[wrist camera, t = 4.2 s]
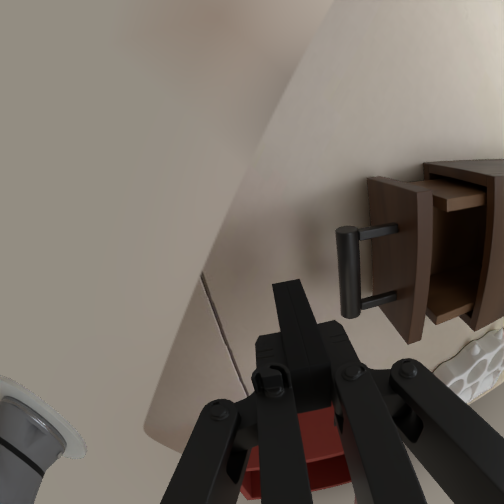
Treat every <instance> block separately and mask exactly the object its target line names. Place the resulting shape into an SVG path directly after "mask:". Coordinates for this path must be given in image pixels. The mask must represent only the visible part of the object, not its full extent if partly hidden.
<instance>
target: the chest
mask: <svg viewBox="0 0 504 504" xmlns="http://www.w3.org/2000/svg"><path fill="white" fill-rule="evenodd" d="M297 415H298V420H299V425H300V431H301V437H302V442H303V448H304V453H305V459H306V465H307V471H308V476H309V482H310V488H311V492H312V491H317V490H322V489H326V488H330V487H334V486H338V485H342V484H346V483H349V482H352V480H351V477H350V473H349V469H348V465H347V461H346V458H345V454H344V450H343V447H342V443H341V440H340V436H339V432H338V429H337V426H335V427H334V407H333V404H332V407H328V408H323V409H319V410H314V411H310V412H305V413H299V414H297ZM240 492H241V493H242V494H243V495H244V496H245V498H246V499H247V500H254V499H261V487H260V468H259V449H258V446H255V447H253V448H252V450H251V454H250V457H249V461H248V465H247V468H246V472H245V475H244V479H243V482H242V486H241V489H240Z"/></svg>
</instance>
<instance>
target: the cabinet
mask: <svg viewBox="0 0 504 504" xmlns="http://www.w3.org/2000/svg"><path fill="white" fill-rule="evenodd" d="M423 167H424V180H433V179H442V178H455V179H459V180H464V181H468V182H471V183H475V184H479V185H483V186H486V187H487V217H486V232H485V243H484V253H483V260H482V268H481V274H480V280H479V286H478V291H477V296H476V301H475V305H474V309H473V310H471V311H469V312H466V313H464V314H462V315H460V316H459V317H460V318H461V319H462V320H463V321H464V322H465V323H466V324H467V325H468V326H469V327H470V328H471V329H472V330H473V331H474V332H475V331H477V330H479V329H481V328H483V327H485V326H486V325H488V324H490V323H492V322H494V321H496V320H497V319H499V318H501V317H503V316H504V159H485V160H458V161H440V162H426V163H423Z"/></svg>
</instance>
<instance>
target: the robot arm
mask: <svg viewBox="0 0 504 504" xmlns="http://www.w3.org/2000/svg"><path fill="white" fill-rule="evenodd" d="M272 287H273V293H274V298H275V304H276V309H277V315H278V320H279V326H280V331H281V332H278V333H273V334H267V335H261V336H259V337H258V339H257V341H256V343H255V348H256V367H257V368H256V370H255V371H254V372H253V373H252V377H251V380H252V383H253V386H254V390H255V391H254V392H253V393H252V394H251V395H250V396H249V397H247V398H245V399H243V400H241V401H238V402H235V403H233V402H232V401H230V400H226V399H217V400H214V401H211V402H210V403H208V404H207V405H205V407H204V408H203V409H202V411H201V413H200V416H199V418H198V420H197V423H196V425H195V427H194V429H193V432H192V434H191V436H190V438H189V441H188V443H187V445H186V447H185V450H184V452H183V454H182V456H181V459H180V461H179V463H178V465H177V468H176V470H175V472H174V474H173V476H172V478H171V481H170V483H169V485H168V487H167V490H166V492H165V494H164V496H163V498H162V500H161V503H160V504H236V502H237V499H238V495H239V492H240V489H241V486H242V482H243V479H244V475H245V472H246V468H247V465H248V461H249V457H250V454H251V450H252V448H253V447H255V446H258V449H259V468H260V487H261V504H313V501H312V494H311V488H310V482H309V476H308V471H307V465H306V459H305V453H304V448H303V442H302V437H301V431H300V425H299V420H298V415H297V414H299V413H305V412H310V411H314V410H319V409H323V408H328V407H332V404H333V407H334V427H335V426H337V429H338V432H339V436H340V440H341V443H342V447H343V450H344V454H345V458H346V461H347V465H348V469H349V473H350V477H351V480H352V484H353V488H354V492H355V496H356V500H357V504H427V502H426V499H425V496H424V494H423V491H422V488H421V486H420V483H419V481H418V478H417V476H416V473H415V471H414V468H413V466H412V463H411V461H410V458H409V456H408V454H407V451H406V449H405V446H404V444H403V442H404V443H405V445H406V446H407V447H408V448H409V449H410V451H411V452H412V453H413V454H414V455H415V457H416V458H417V459H418V460H419V461H420V463H421V464H422V465H423V466H424V468H425V469H426V470H427V471H428V472H429V473H430V475H431V476H432V477H433V478H434V480H435V481H436V482H437V483H438V484H439V486H440V487H441V488H442V489H443V490H444V492H445V493H446V494H447V495H448V496H449V497H450V499H451V500H452V501H453V502H454V504H504V438H503V437H502V436H500V435H499V433H498V432H496V431H495V430H494V429H493V428H492V427H491V426H490V425H489V424H488V423H487V422H486V421H485V420H484V419H483V418H482V417H480V416H479V415H478V414H477V413H476V412H475V411H474V410H473V409H472V408H471V407H470V406H468V405H467V404H466V403H465V402H464V401H463V400H462V399H461V398H460V397H459V396H457V395H456V394H455V393H454V392H453V391H452V390H451V389H450V388H449V387H447V386H446V385H445V384H444V383H443V382H442V381H441V380H440V379H438V378H437V377H436V376H435V375H434V374H433V373H432V372H431V371H429V370H428V369H427V368H426V367H425V366H424V365H423V364H421V363H420V362H418V361H417V360H414V359H410V358H409V359H401V360H399V361H397V362H396V363H394V364H393V366H392V368H391V369H385V370H374V369H370V368H368V367H367V366H366V365H365V364H363V363H361V362H360V360H359V358H358V356H357V354H356V352H355V350H354V348H353V346H352V344H351V342H350V340H349V338H348V336H347V334H346V332H345V330H344V328H343V326H342V325H341V324H340V323H338V322H337V321H335V320H333V321H328V322H324V323H319V324H317V323H316V320H315V317H314V315H313V312H312V310H311V307H310V304H309V302H308V299H307V297H306V294H305V292H304V289H303V287H302V284H301V282H300V279H296V280H291V281H286V282H281V283H276V284H272ZM402 441H403V442H402ZM66 447H67V443H66V441H65V439H64V438H63V436H62V435H61V434H60V433H59V431H58V430H57V429H56V428H55V427H54V426H53V425H52V424H50V423H49V422H48V421H47V420H46V419H45V418H44V417H42V416H41V415H40V414H39V413H37V412H36V411H35V410H33V409H32V408H31V407H29V406H28V405H26V404H25V403H23V402H21V401H20V400H18V399H16V398H14V397H11V396H4V397H3V398H2V400H1V401H0V504H34V501H35V498H36V495H37V492H38V490H39V487H40V484H41V482H42V479H43V476H44V474H45V471H46V470H47V469H48V468H49V467H50V466H51V465H52V464H53V463H54V462H55V461H56V460H57V459H59V458H60V457H61V456H62V455H63V453H64V452H65V449H66Z"/></svg>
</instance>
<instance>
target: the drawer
mask: <svg viewBox="0 0 504 504" xmlns="http://www.w3.org/2000/svg"><path fill="white" fill-rule="evenodd" d="M367 184H368V194H369V205H370V219H371V227H365V228H360V229H358V228H357V227H354V226H343V227H339V228H337V229H336V230H335V234H336V244H337V256H338V269H339V285H340V305H341V315H342V316H343V317H344V318H347V319H353V318H356V317H358V316H359V315H360V313H361V310H365V309H368V308H372V307H376V306H379V308H380V309H381V310H382V311H383V313H384V314H385V315H386V317H387V318H388V319H389V320H390V322H391V323H392V324H393V326H394V327H395V328H396V330H397V331H398V332H399V334H400V335H401V336H402V338H403V339H404V340H405V342H406V343H407V344H408V345H409V344H411V343H414V342H417V341H420V340H421V337H422V332H423V326H424V320H425V314H426V315H427V316H428V317H429V319H430V320H431V321H432V322H433V323H434V324H435V325H438V324H440V323H443V322H445V321H448V320H450V319H452V318H455V317H457V316H460V315H462V314H464V313H466V312H469V311H471V310H473V309H474V305H475V301H476V296H477V291H478V286H479V280H480V274H481V268H482V260H483V253H484V243H485V232H486V217H487V187H486V186H483V185H479V184H475V183H471V182H468V181H464V180H459V179H455V178H442V179H433V180H424V181H416V182H407V183H405V182H401V181H397V180H393V179H389V178H385V177H381V176H377V177H369V178H367ZM371 238H372V267H373V294H372V296H370V297H366V298H362V299H361V278H360V251H359V240H360V241H361V240H366V239H371Z"/></svg>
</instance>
